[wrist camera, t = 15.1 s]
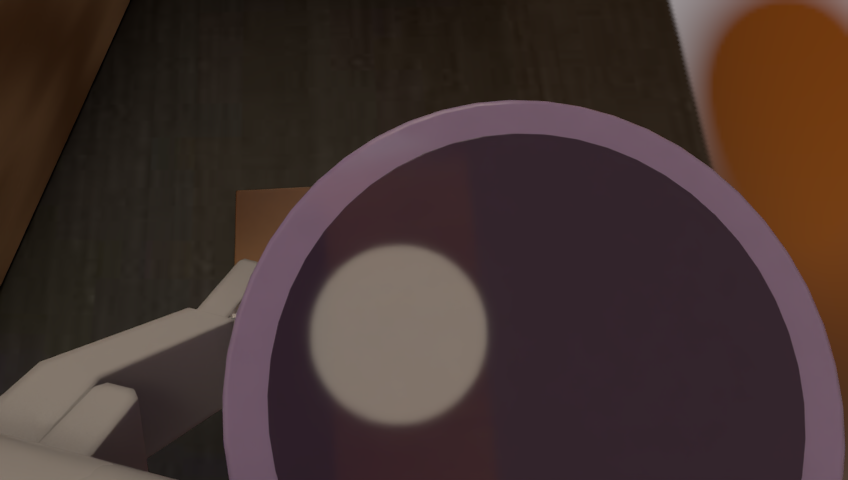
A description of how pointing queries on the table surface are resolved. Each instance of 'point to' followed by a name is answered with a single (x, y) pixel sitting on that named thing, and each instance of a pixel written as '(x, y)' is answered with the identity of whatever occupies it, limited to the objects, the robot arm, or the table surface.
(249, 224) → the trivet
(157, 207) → the table surface
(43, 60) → the block
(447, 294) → the lavender cup
